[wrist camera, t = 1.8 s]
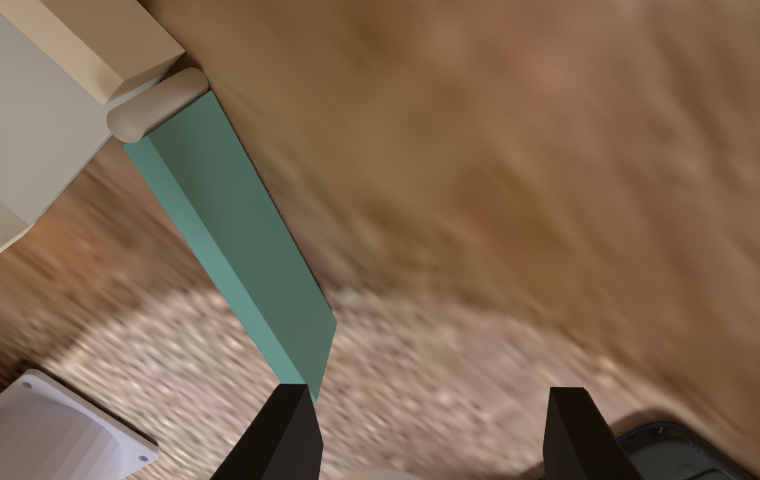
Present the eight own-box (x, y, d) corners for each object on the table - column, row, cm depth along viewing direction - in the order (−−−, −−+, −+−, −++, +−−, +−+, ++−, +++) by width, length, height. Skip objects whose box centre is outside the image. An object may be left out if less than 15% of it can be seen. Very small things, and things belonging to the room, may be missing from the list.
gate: (338, 321, 20) (317, 401, 17) (318, 326, 20) (294, 405, 17) (198, 63, 15) (128, 102, 12) (174, 73, 15) (98, 114, 12)
